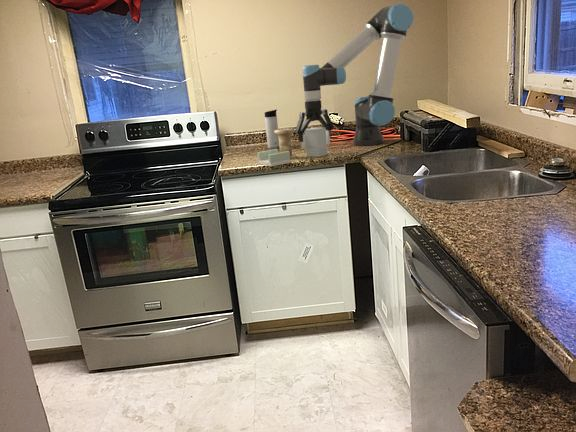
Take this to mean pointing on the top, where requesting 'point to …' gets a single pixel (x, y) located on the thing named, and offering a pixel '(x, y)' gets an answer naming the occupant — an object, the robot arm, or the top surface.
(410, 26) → the robot arm
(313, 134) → the supplement box
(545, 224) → the top surface
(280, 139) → the spool
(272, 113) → the travel mug
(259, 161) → the green and white block
